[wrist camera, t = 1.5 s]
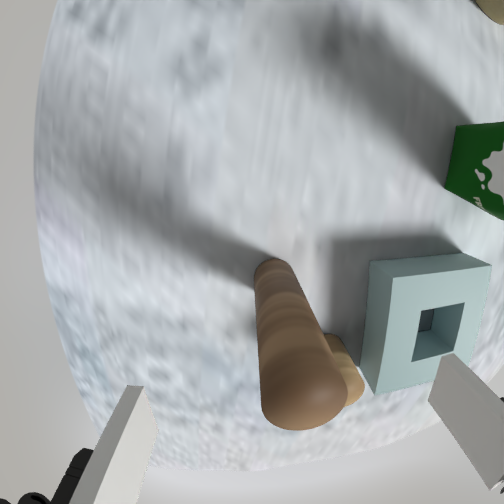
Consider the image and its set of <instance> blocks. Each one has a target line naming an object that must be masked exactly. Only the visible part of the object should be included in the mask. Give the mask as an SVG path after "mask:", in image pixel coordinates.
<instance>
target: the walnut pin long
mask: <svg viewBox="0 0 504 504" xmlns="http://www.w3.org/2000/svg"><path fill="white" fill-rule="evenodd" d="M254 290H255V307H256V324H257V340H258V357H259V374H260V391H261V407H262V412H263V414H264V416H265V418H266V419H267V420H268V421H269V422H270V423H272V424H273V425H275V426H277V427H279V428H283V429H287V430H307V429H312V428H315V427H318V426H321V425H323V424H325V423H327V422H328V421H330V420H331V419H333V418H334V417H335V416H336V415H337V414H338V413H339V412H340V411H341V410H342V409H343V407H344V405H345V403H346V401H347V397H348V389H347V386H346V383H345V381H344V379H343V376H342V374H341V372H340V370H339V368H338V365H337V363H336V361H335V359H334V357H333V354H332V352H331V350H330V348H329V346H328V343H327V341H326V339H325V337H324V335H323V333H322V331H321V328H320V326H319V324H318V322H317V320H316V318H315V316H314V313H313V311H312V309H311V307H310V305H309V303H308V301H307V299H306V297H305V294H304V292H303V290H302V288H301V286H300V284H299V282H298V280H297V278H296V276H295V274H294V272H293V270H292V268H291V266H290V265H289V264H288V263H287V262H285V261H283V260H280V259H269V260H266V261H264V262H263V263H261V264H260V265H259V266H258V268H257V269H256V271H255V274H254Z"/></svg>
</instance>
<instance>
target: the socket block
mask: <svg viewBox="0 0 504 504" xmlns="http://www.w3.org/2000/svg"><path fill="white" fill-rule="evenodd" d="M491 269H492V265H490V264H488V263H486V262H483V261H481V260H479V259H476V258H474V257H472V256H469V255H467V254H465V253H457V254H446V255H435V256H423V257H411V258H400V259H387V260H375V261H370V264H369V282H368V296H367V308H366V318H365V328H364V337H363V345H362V352H361V359H360V366H359V368H360V369H361V371H362V373H363V375H364V377H365V379H366V380H367V382H368V384H369V386H370V388H371V390H372V391H373V393H374V395H379V394H384V393H388V392H392V391H397V390H401V389H405V388H409V387H412V386H416V385H420V384H423V383H427V382H430V381H434V380H435V377H436V374H437V370H438V367H439V363H440V360H441V356H444V355H448V354H451V353H454V354H455V355H456V356H457V357H458V358H459V359H460V360H461V361H462V362H463V363H465V364H466V365H467V366H468V365H469V362H470V359H471V356H472V353H473V349H474V346H475V343H476V339H477V336H478V332H479V328H480V324H481V320H482V316H483V312H484V307H485V302H486V298H487V292H488V287H489V281H490V275H491ZM433 308H435V309H434V315H433V320H432V325H431V330H426V331H422V332H418V327H419V321H420V315H421V311H422V310H428V309H433Z"/></svg>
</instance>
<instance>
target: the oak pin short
mask: <svg viewBox="0 0 504 504" xmlns="http://www.w3.org/2000/svg"><path fill="white" fill-rule="evenodd" d="M324 337H325V339H326V341H327V343H328V346H329V348H330V350H331V352H332V354H333V357H334V359H335V361H336V363H337V365H338V368H339V370H340V372H341V374H342V376H343V379H344V381H345V383H346V386H347V389H348V397H347V401H346V403H345V405H344V407H345V406H348V405H350V404H352V403H354V402H355V401H357V400H358V399H359V398H360V397H361V395H362V394H363V392H364V388H365V384H364V382H363V380H362V378H361V376H360V374H359V372H358V370H357V368H356V367H355V365H354V363H353V361H352V359H351V357H350V355H349V354H348V352H347V350H346V348H345V346H344V344H343V343H342V341H341V339H340V338H339V337H338V336H336V335H333V334H324Z"/></svg>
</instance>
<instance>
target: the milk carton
mask: <svg viewBox="0 0 504 504" xmlns="http://www.w3.org/2000/svg"><path fill="white" fill-rule="evenodd" d="M445 189H446V190H448V191H450V192H452V193H454V194H456V195H458V196H459V197H461V198H463V199H465V200H467V201H468V202H470V203H472V204H474V205H475V206H477V207H479V208H481V209H482V210H484V211H486V212H488V213H489V214H491V215H493V216H495V217H497V218H499V219H501V220H504V122H496V123H484V124H472V125H462V126H456V132H455V138H454V144H453V150H452V155H451V160H450V165H449V170H448V175H447V179H446V184H445Z"/></svg>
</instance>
